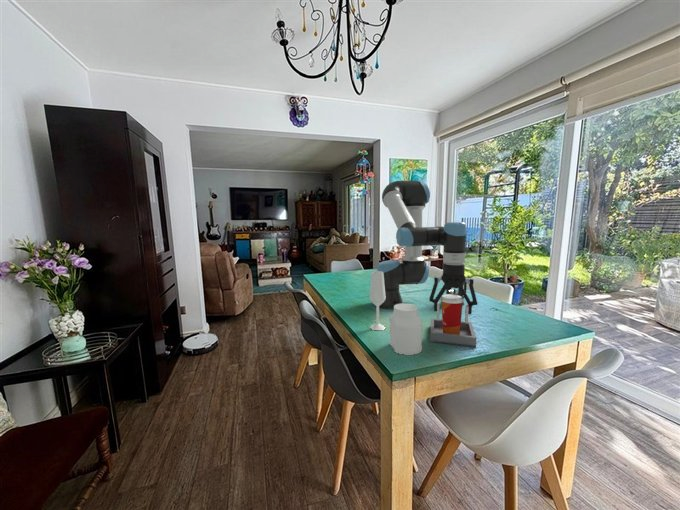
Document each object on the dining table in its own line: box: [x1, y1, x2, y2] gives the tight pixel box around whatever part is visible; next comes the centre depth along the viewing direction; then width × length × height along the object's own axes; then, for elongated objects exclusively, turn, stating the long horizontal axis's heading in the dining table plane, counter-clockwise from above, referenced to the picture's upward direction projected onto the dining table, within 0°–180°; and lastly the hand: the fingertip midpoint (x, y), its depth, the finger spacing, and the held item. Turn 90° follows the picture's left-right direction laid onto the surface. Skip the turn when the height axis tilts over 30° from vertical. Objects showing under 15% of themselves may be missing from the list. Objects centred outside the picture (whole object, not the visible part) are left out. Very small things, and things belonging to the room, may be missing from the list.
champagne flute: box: [369, 270, 386, 331], centre depth 115 cm, size 7×7×24 cm
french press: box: [445, 272, 468, 306], centre depth 145 cm, size 12×9×23 cm
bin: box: [429, 318, 477, 348], centre depth 106 cm, size 15×15×4 cm
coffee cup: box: [439, 293, 465, 335], centre depth 106 cm, size 8×8×15 cm
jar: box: [389, 302, 423, 356], centre depth 97 cm, size 12×10×15 cm
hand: (451, 320), depth 106 cm, fingers open, 9 cm apart
